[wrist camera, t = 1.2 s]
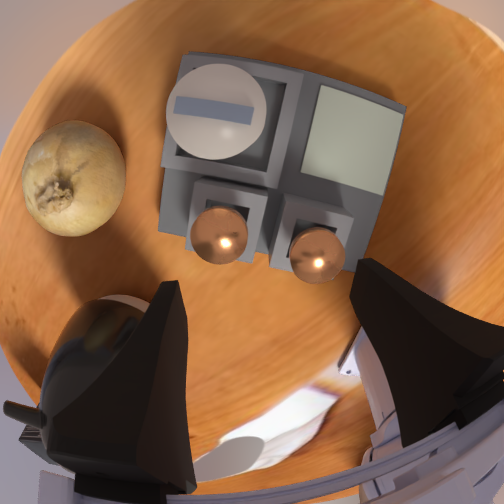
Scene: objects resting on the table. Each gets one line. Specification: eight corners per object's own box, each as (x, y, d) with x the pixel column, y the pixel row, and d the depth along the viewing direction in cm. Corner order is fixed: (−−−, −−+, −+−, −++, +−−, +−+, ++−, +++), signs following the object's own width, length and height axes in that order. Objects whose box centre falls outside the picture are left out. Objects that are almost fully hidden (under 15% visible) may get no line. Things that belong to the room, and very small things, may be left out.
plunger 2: (339, 222, 16) (352, 239, 14) (325, 264, 17) (335, 287, 15) (293, 210, 16) (298, 226, 13) (281, 255, 17) (284, 278, 15)
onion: (77, 234, 21) (24, 272, 14) (44, 150, 18) (-17, 165, 11) (154, 199, 19) (106, 233, 13) (117, 100, 16) (56, 94, 10)
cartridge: (271, 93, 15) (276, 70, 9) (257, 156, 16) (254, 169, 11) (205, 82, 15) (173, 56, 9) (192, 144, 16) (154, 152, 10)
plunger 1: (254, 202, 16) (253, 216, 13) (244, 248, 17) (241, 269, 14) (205, 192, 16) (194, 204, 13) (198, 238, 17) (186, 257, 14)
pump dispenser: (107, 251, 21) (-18, 384, 7) (214, 320, 23) (174, 498, 9) (79, 326, 24) (3, 438, 11) (164, 379, 27) (124, 509, 13)
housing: (396, 107, 16) (424, 104, 12) (351, 263, 21) (367, 289, 17) (194, 56, 15) (178, 40, 12) (164, 224, 20) (145, 243, 16)
